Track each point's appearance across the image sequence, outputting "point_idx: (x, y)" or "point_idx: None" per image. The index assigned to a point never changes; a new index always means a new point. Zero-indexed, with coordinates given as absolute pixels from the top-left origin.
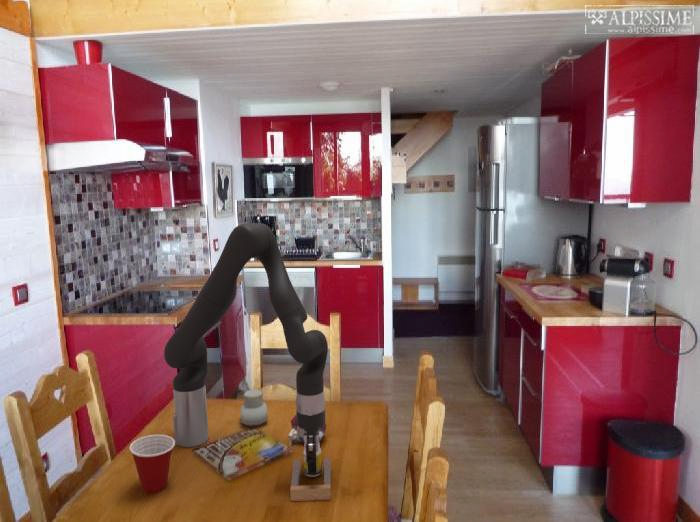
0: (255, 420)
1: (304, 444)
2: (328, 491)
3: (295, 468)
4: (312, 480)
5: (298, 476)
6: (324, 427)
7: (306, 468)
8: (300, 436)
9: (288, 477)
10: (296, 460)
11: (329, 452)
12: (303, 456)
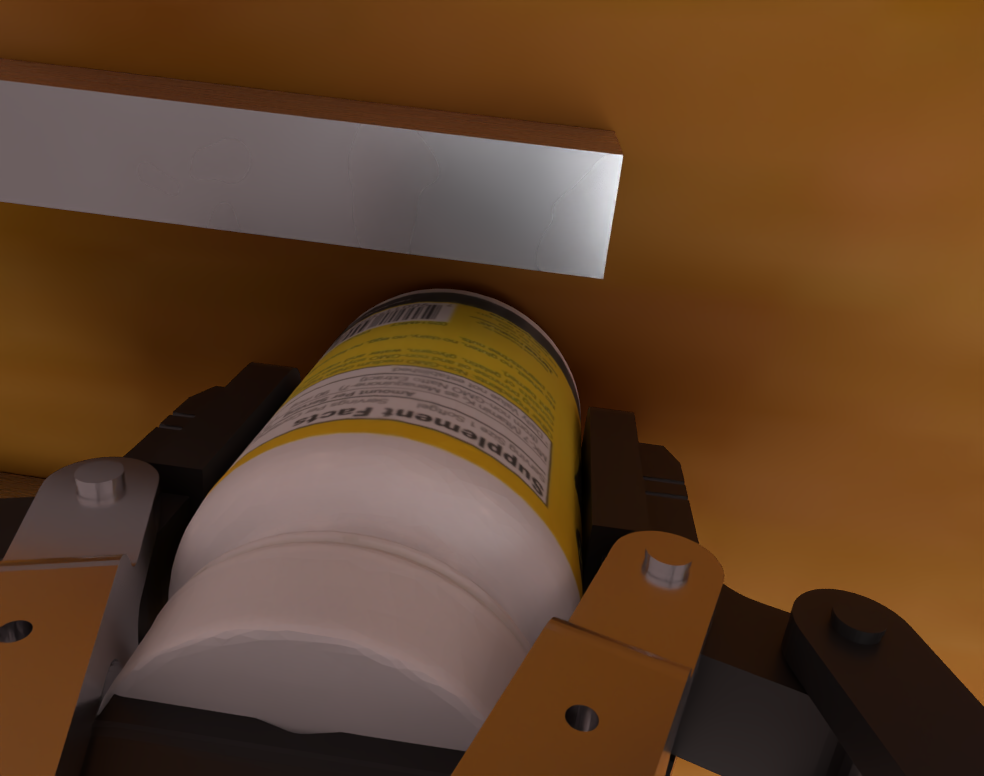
0: None
1: (275, 615)
2: None
3: (298, 165)
4: (303, 375)
5: (65, 205)
6: None
7: (319, 361)
8: None
9: (423, 13)
10: (590, 203)
11: (967, 669)
12: (364, 399)
